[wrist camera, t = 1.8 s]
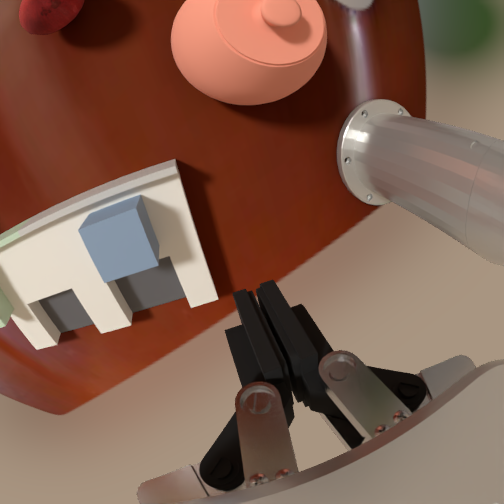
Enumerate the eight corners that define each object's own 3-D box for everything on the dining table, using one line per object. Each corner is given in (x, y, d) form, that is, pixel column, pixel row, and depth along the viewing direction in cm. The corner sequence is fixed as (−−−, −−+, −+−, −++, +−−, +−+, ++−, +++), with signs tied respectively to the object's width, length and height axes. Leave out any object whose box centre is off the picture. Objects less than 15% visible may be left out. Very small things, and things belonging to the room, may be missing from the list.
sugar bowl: (183, 118, 22) (190, 120, 13) (161, -13, 14) (160, -71, 6) (311, 98, 23) (380, 100, 15) (289, -21, 16) (343, -63, 8)
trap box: (175, 158, 23) (175, 170, 18) (214, 285, 31) (224, 318, 26) (-17, 244, 20) (-39, 269, 15) (41, 336, 27) (30, 367, 22)
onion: (98, -15, 12) (77, -52, 5) (89, 33, 15) (59, 7, 8) (45, 0, 10) (10, -25, 4) (35, 48, 13) (-8, 34, 6)
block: (140, 194, 21) (135, 208, 18) (159, 245, 24) (158, 265, 21) (89, 213, 21) (78, 230, 18) (110, 261, 23) (104, 283, 20)
